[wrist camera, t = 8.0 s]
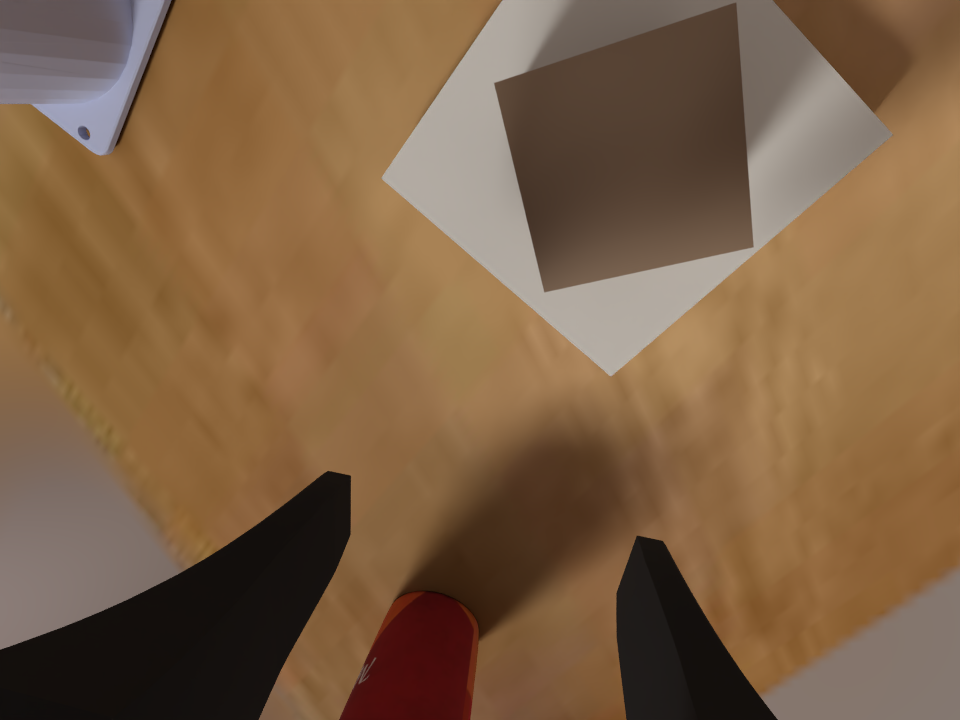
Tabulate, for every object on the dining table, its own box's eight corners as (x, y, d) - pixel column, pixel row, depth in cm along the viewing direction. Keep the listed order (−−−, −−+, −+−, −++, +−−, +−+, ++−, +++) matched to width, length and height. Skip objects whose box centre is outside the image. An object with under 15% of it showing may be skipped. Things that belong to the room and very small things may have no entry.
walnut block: (516, 88, 16) (493, 83, 12) (687, 33, 15) (736, 2, 10) (552, 245, 18) (544, 292, 13) (706, 208, 17) (753, 247, 12)
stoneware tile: (398, 171, 20) (381, 178, 18) (614, -138, 15) (619, -172, 13) (608, 353, 21) (610, 376, 20) (859, 131, 17) (893, 134, 15)
